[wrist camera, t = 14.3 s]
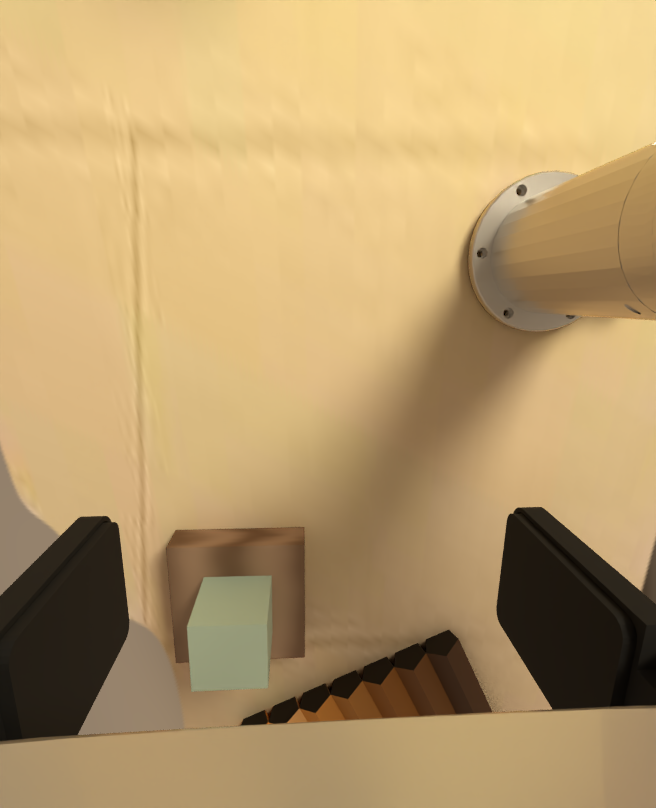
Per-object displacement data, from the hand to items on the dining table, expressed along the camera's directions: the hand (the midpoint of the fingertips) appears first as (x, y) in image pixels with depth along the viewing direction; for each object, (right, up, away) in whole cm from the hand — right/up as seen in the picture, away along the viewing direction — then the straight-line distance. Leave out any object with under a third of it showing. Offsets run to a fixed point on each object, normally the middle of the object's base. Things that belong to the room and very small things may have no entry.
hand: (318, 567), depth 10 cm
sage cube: (-8, -15, +29) cm, 33 cm away
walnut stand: (-8, -14, +32) cm, 36 cm away
